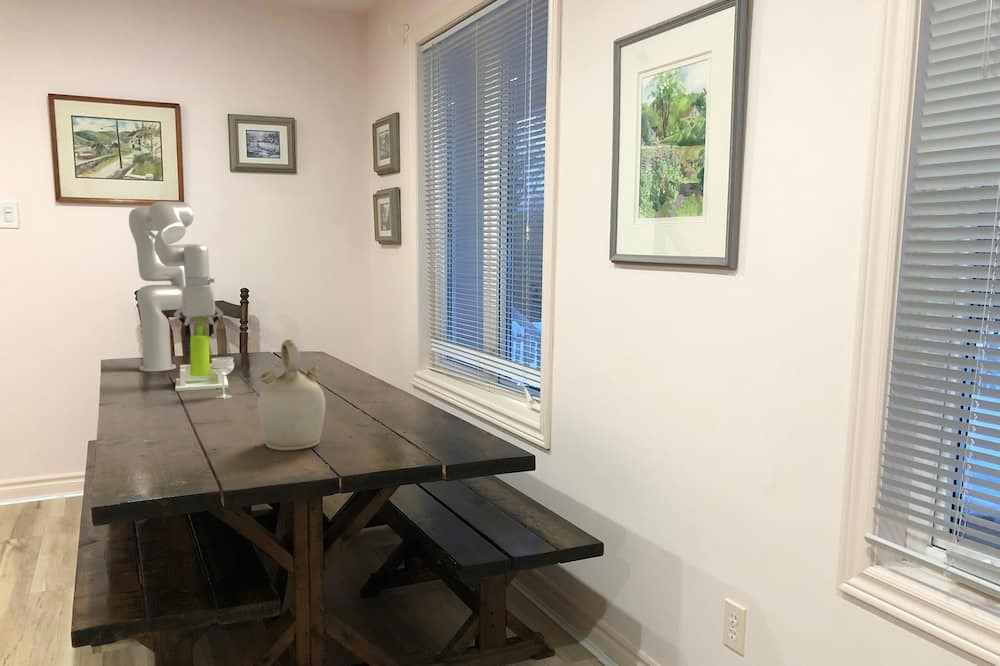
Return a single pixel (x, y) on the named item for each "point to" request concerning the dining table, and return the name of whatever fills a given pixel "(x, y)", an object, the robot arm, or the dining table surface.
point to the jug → (291, 404)
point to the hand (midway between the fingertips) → (199, 336)
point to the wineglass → (222, 369)
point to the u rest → (198, 380)
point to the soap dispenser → (199, 350)
